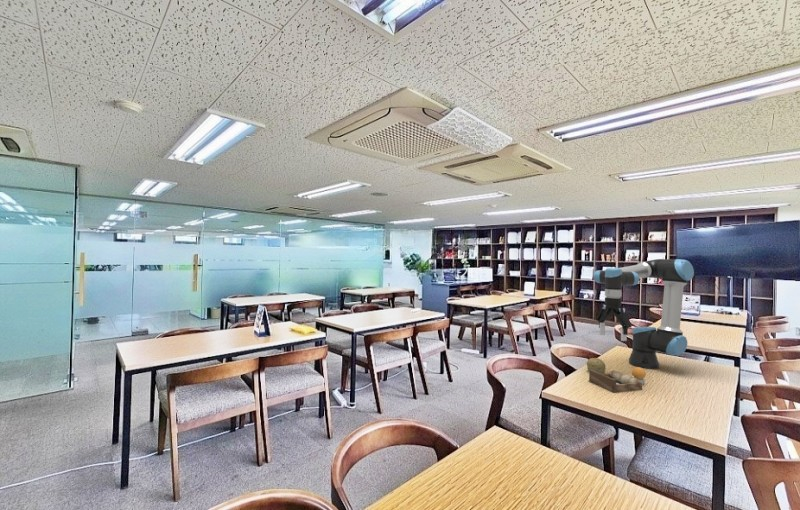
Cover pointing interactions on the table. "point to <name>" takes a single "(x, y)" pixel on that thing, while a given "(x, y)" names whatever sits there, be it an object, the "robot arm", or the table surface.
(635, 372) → the ball
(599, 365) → the decorative item
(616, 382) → the mat
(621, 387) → the brown wooden tray
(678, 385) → the table surface
